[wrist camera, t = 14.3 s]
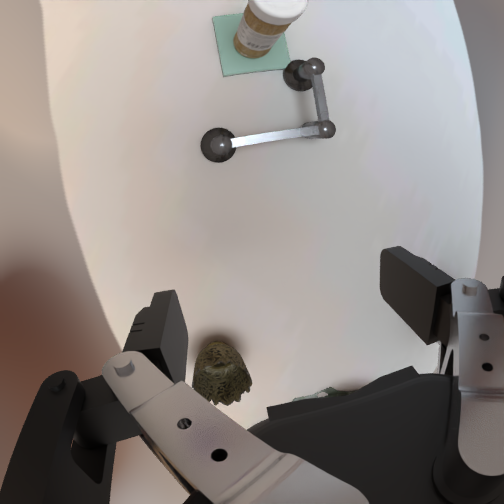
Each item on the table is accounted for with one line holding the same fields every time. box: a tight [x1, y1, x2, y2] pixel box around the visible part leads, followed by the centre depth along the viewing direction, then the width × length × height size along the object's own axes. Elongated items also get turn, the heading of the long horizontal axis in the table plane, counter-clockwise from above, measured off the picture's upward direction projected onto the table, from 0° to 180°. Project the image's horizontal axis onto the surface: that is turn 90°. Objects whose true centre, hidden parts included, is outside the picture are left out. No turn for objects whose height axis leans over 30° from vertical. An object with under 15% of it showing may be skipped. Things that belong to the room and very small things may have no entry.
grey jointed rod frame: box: [201, 58, 336, 162], centre depth 31 cm, size 15×11×6 cm
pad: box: [212, 13, 290, 77], centre depth 30 cm, size 8×8×1 cm
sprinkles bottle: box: [233, 0, 308, 58], centre depth 24 cm, size 5×5×13 cm
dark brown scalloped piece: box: [192, 341, 252, 406], centre depth 40 cm, size 8×7×8 cm
